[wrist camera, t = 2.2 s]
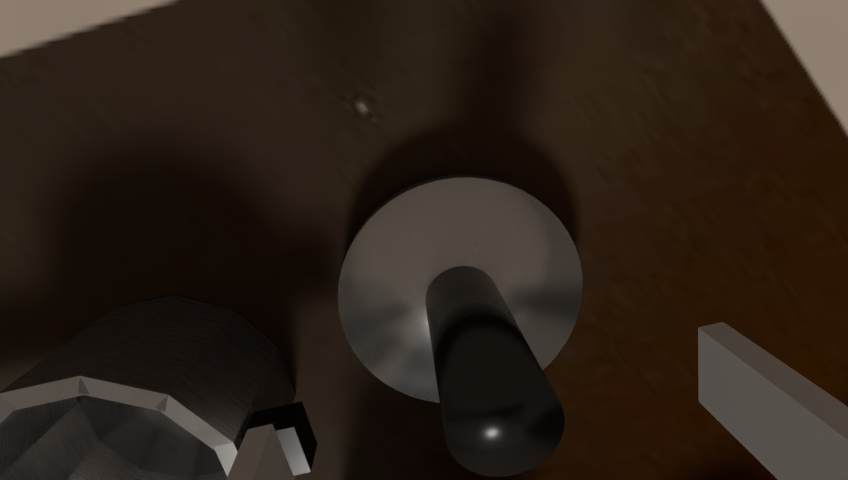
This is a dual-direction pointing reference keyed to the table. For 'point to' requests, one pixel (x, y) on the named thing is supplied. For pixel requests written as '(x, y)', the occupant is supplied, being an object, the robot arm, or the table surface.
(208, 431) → the pot
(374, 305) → the lid
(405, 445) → the table surface
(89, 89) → the table surface
